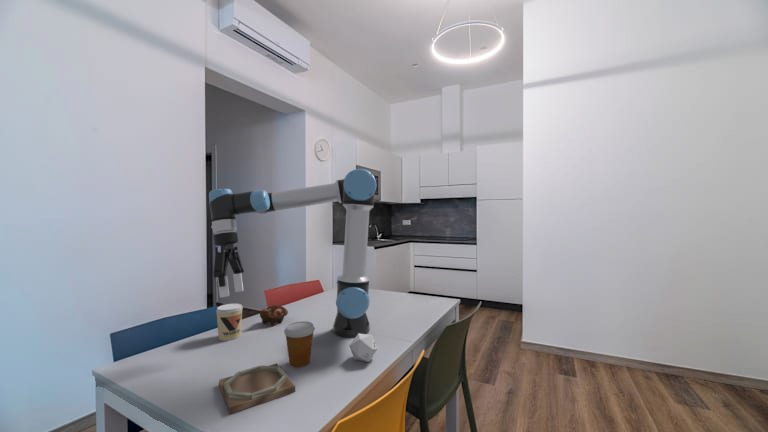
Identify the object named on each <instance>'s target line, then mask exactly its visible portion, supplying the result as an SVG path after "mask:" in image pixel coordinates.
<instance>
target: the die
mask: <svg viewBox="0 0 768 432" xmlns="http://www.w3.org/2000/svg"><path fill="white" fill-rule="evenodd" d="M348 347H349V349H350V351H351V354H352V357H353V359H354V361H360V362H366V363H370V361H371V360H372V359H373V357H374V355H375V354H376V352H377V351H378V347H377V344H376V341H375V339H374V337H373V335H372V334H367V333H366V334H360V333H358V334H357V336H355V337H354V338H353V340H352V341H351V342H350V344H349V346H348Z"/></svg>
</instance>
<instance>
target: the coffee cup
mask: <svg viewBox="0 0 768 432" xmlns="http://www.w3.org/2000/svg"><path fill="white" fill-rule="evenodd" d="M243 309H244V307H243V305H242V304H241V303H228V304H227V303H226V304H221V305H220V306H217V308H216V310H215V312H216V321H217V335H218V340H219V341H223V342H226V341H227V342H228V341H229V342H230V341H234V340H236V339H238V338H240V337H241V332H242V321H243V320H242V319H243Z"/></svg>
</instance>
